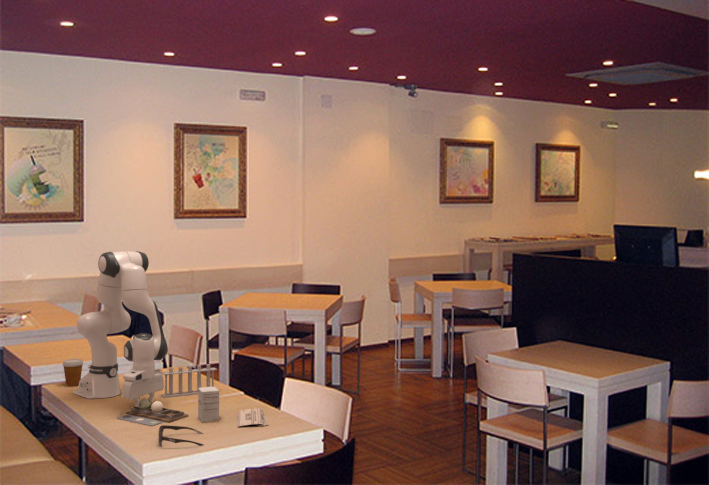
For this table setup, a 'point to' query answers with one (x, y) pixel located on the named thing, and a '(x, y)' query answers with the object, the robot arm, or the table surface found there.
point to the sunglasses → (174, 438)
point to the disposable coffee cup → (72, 371)
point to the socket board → (158, 414)
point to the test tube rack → (188, 380)
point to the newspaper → (251, 417)
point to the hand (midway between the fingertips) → (143, 404)
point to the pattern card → (140, 420)
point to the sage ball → (144, 404)
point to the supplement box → (208, 404)
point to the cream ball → (157, 407)
